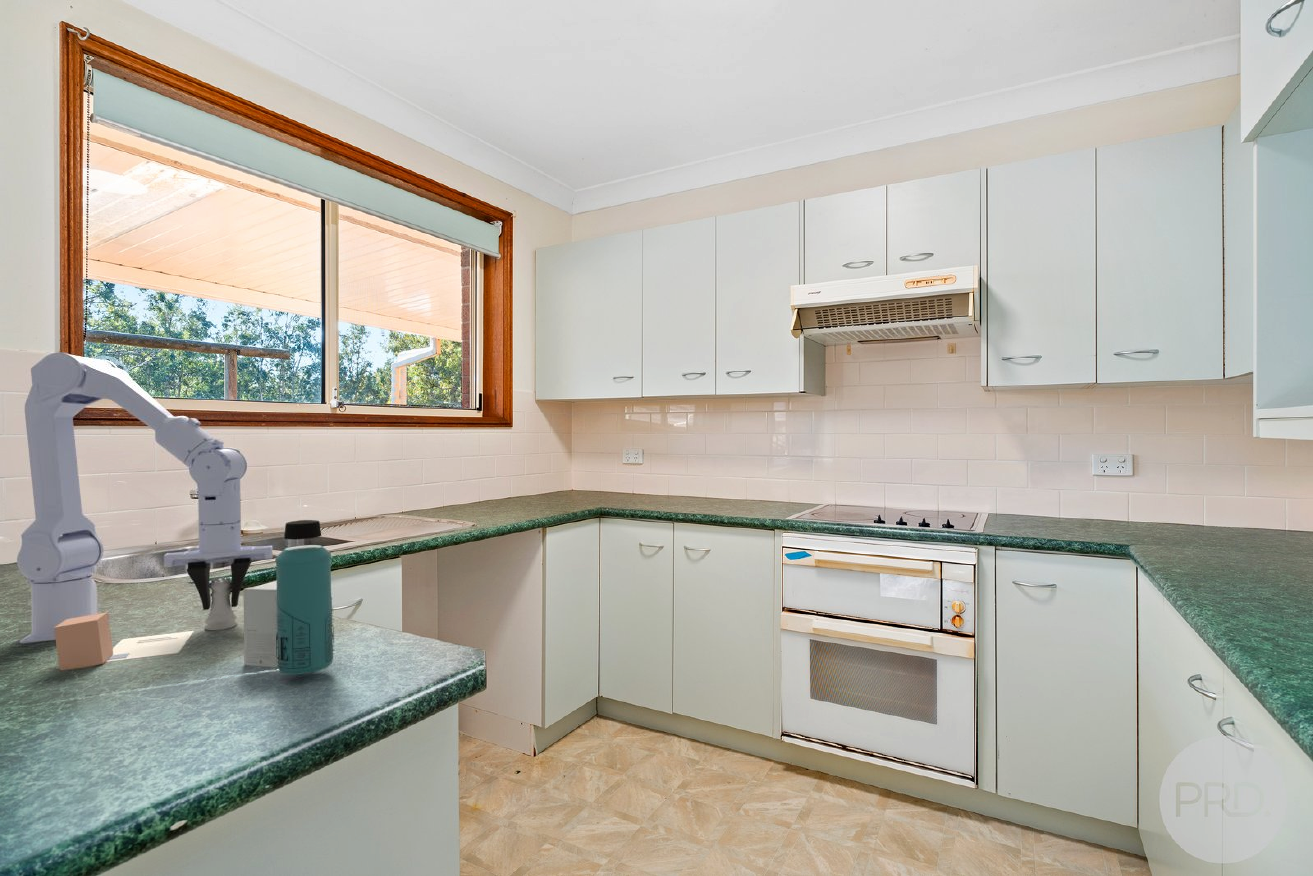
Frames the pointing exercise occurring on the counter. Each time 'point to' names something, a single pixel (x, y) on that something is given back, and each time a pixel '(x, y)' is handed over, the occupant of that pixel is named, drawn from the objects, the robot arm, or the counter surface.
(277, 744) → the counter surface
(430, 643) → the counter surface
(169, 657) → the counter surface
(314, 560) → the beverage bottle
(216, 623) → the rook chess piece
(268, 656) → the small box
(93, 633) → the block
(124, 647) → the letter
